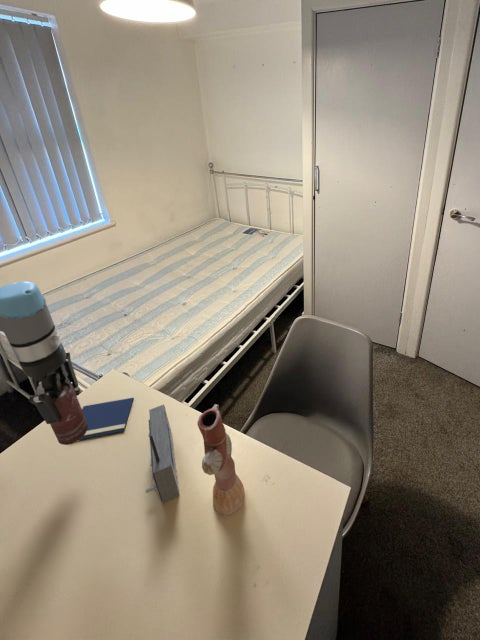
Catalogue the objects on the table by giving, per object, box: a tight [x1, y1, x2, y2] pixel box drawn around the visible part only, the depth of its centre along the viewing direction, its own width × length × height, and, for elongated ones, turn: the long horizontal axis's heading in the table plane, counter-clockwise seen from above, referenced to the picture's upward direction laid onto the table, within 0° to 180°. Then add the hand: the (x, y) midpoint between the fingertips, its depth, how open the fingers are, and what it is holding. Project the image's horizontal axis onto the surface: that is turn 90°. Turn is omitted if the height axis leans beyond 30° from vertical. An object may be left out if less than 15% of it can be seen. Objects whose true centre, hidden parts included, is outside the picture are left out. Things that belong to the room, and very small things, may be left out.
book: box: [77, 397, 135, 442], centre depth 93 cm, size 14×11×1 cm
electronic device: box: [145, 404, 180, 503], centre depth 77 cm, size 17×7×20 cm, turn 26°
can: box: [49, 383, 88, 446], centre depth 74 cm, size 6×6×14 cm
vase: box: [197, 403, 245, 516], centre depth 68 cm, size 10×7×30 cm
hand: (73, 424), depth 78 cm, fingers open, 3 cm apart
